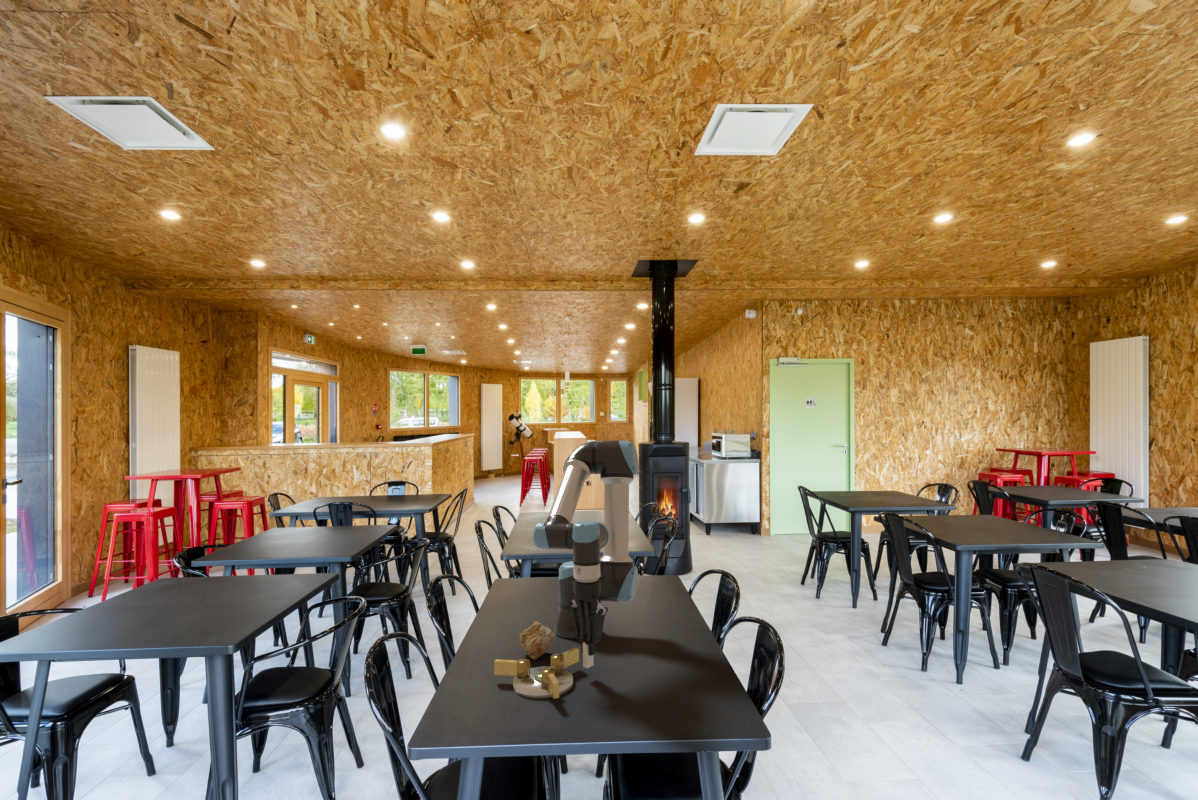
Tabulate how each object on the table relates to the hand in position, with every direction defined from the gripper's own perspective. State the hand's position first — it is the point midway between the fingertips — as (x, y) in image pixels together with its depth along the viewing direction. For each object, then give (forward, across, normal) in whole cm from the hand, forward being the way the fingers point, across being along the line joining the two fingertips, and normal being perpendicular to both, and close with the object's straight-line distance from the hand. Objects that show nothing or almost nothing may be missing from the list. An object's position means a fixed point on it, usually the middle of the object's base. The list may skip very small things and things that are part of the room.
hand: (588, 666), depth 158 cm
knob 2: (+2, 0, -15) cm, 15 cm away
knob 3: (+2, -7, -2) cm, 7 cm away
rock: (+4, -23, +2) cm, 23 cm away
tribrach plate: (+3, -7, -10) cm, 13 cm away
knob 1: (+2, -14, -15) cm, 21 cm away
